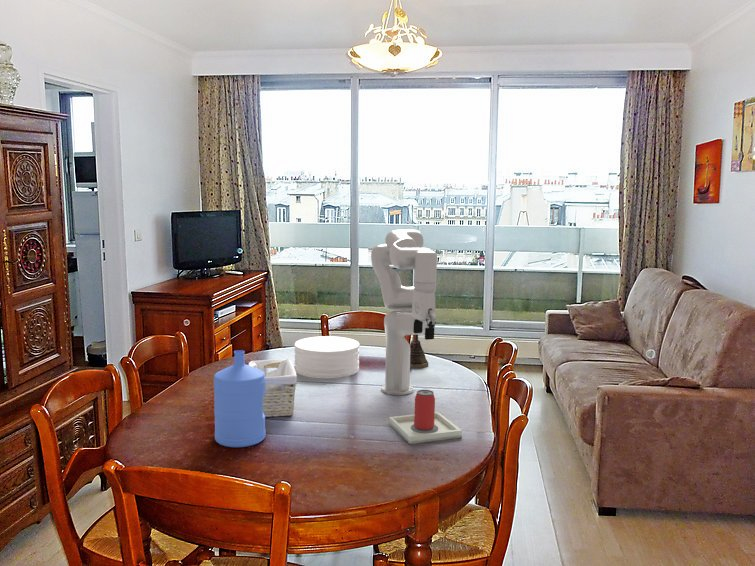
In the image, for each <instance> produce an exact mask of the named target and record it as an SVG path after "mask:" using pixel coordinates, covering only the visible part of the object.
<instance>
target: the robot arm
mask: <svg viewBox="0 0 755 566" xmlns="http://www.w3.org/2000/svg"><path fill="white" fill-rule="evenodd" d="M384 239H385V243H383V244H378V245H375V246H374V247H373V248H372V249H371V254H370V260H371V265H372V269H373V271H374V273H375V275H376V277H377V279H378V282H379V287H380V291H381V296H382V300H383V304H384V308H385V309H386V310H387V311H389V312H388V313H386V314H385V316H384V318H383V326H384V334H385V371H384V372H385V373H384V374H385V377H384V381H385V384H383V385H381V387H380V391H381V392H383V393H384V394H386V395H393V396H405V395H410V394H412V393H413V392H414V387H413V386H412V385H411V384H410V379H411V377H410V376H411V368H410V342H409V341H408V340H407V339H406V338H405V336H413V335H418V336H419V335H420V336H421V335H424V339H425V340H426V341H427V340H435V328H436V324H437V316H436V293H435V292H437V267H438V255H437V252H436V251H433V250H432V249H431V248H427V247H424V236H423V234H422V232H421V231H419V230H418V229H417V230H416V229H393V230H391V231H390V232H388V233H387V234H386V236H385V238H384ZM391 266H394V268H396V269H397V270H403V271H404V270H413V272H414V273H413V275H414V276H413V286H404V285H402V280H401V277H400V275H399V274H398V272H397V271H396V270H395V269H394V268H392V267H391Z"/></svg>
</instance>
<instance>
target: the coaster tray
mask: <svg viewBox="0 0 755 566" xmlns="http://www.w3.org/2000/svg"><path fill="white" fill-rule="evenodd" d="M388 425H389V426H390V427H392V429H393V430H394V431H395V432H396V433H398V434H399V436H400V437H402V439H404V440H405V442H406V443H408V444H409V445H416V444H422V443H429V442H436V441H437V442H439V441H445V440H454V439H460V438H463V437H462V436H463V430H462V429H461V428H460V427H458V425H456V424H455V423H453V422H452V421H450V420H449V419H448V418H447V417H445V416H444V415H443V414H441V413H440V412H439V411H435V418H434V428H433V429H431V430H419V429H417V428H415V426H414V414H406V415H397V416H388Z"/></svg>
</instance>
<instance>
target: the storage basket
mask: <svg viewBox="0 0 755 566" xmlns="http://www.w3.org/2000/svg"><path fill="white" fill-rule="evenodd" d="M248 365H249V366H252V367H254V368H257V369H259V370H262V371H263V372H264V374H265V395H264V396H263V413H264V415H265V418H271V417H285V416H286V417H287V416H292V415H294V410H295V398H296V397H295V396H296V394H295V393H296V386H297V382H298V380H297V379H298V378H297V372H296V371H295V365H294V363H293V362H292V360H291V359H289V358H287V359H284V358H283V359H264V360H263V359H260V360H251V361H250V362H248ZM273 368H274V369H275V370H271V371H270V372H265V369H273ZM276 368H277V369H276Z"/></svg>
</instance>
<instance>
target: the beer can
mask: <svg viewBox="0 0 755 566" xmlns="http://www.w3.org/2000/svg"><path fill="white" fill-rule="evenodd" d="M434 394H435V393H434V391H433V390H431V389H420V390H417V391H416V394H415V397H414V410H413V411H414V413H413V415H414V426H415V428H417V429H419V430H431V429H433V428H434V418H435V412H436V411H435V410H436V397H435V395H434Z"/></svg>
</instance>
